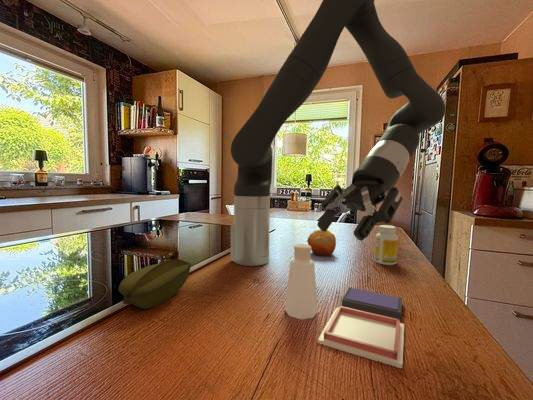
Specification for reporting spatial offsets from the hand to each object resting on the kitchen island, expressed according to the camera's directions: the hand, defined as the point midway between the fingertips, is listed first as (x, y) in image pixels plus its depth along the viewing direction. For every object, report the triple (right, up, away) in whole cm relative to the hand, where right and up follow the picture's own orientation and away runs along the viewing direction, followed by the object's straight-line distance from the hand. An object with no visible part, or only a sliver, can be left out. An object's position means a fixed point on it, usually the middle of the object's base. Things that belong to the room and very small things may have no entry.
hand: (337, 232), depth 47 cm
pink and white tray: (+1, -13, -10) cm, 16 cm away
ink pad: (+6, -12, -1) cm, 14 cm away
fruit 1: (-32, -12, +1) cm, 34 cm away
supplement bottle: (+19, -11, +24) cm, 32 cm away
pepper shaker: (-7, -13, -3) cm, 15 cm away
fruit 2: (+3, -10, +31) cm, 33 cm away
